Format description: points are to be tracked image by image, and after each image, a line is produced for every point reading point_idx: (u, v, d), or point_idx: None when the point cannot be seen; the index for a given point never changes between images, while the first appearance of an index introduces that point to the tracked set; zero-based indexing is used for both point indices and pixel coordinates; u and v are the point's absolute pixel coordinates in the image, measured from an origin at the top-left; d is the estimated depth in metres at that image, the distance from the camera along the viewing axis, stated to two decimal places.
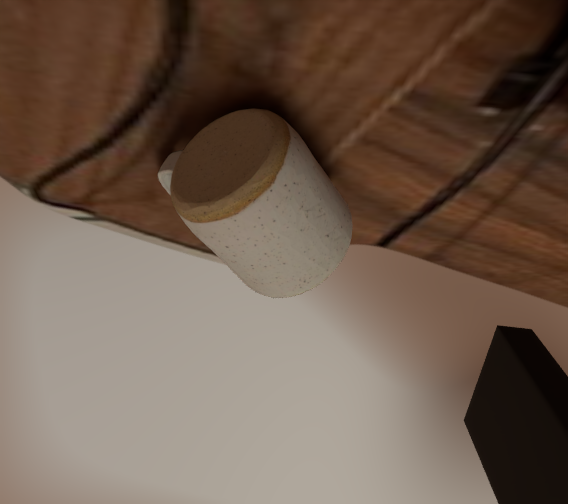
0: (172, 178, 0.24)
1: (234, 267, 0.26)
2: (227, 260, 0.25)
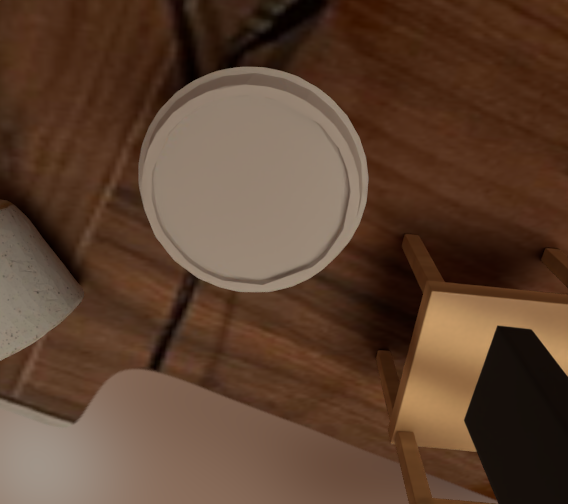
0: None
1: None
2: None
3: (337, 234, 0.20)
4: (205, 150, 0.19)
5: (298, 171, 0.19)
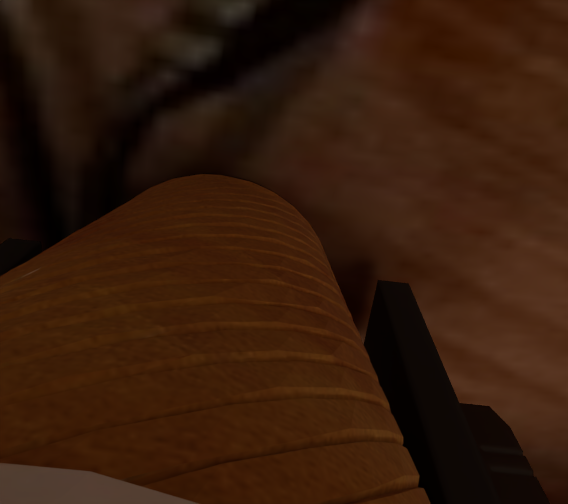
0: None
1: None
2: None
3: None
4: None
5: None
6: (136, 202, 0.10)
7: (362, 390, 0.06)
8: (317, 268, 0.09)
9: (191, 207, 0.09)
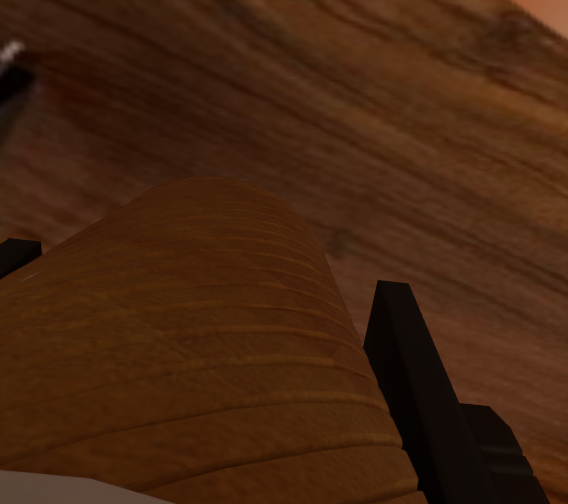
0: None
1: None
2: None
3: None
4: None
5: None
6: (136, 204, 0.10)
7: (361, 393, 0.06)
8: (316, 270, 0.09)
9: (191, 210, 0.09)
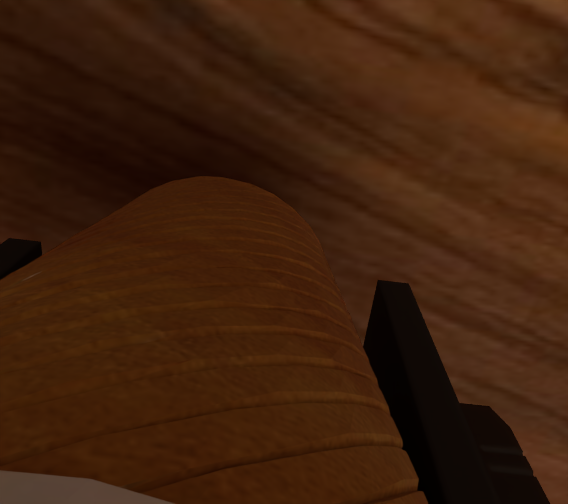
0: None
1: None
2: None
3: None
4: None
5: None
6: (136, 204, 0.10)
7: (361, 394, 0.06)
8: (317, 271, 0.09)
9: (191, 210, 0.09)
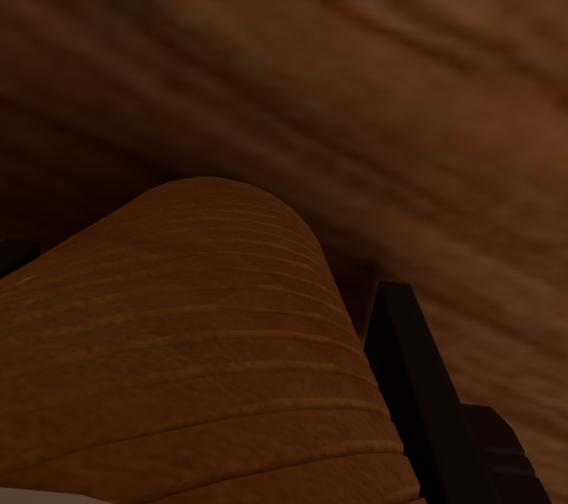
0: None
1: None
2: None
3: None
4: None
5: None
6: (134, 205, 0.10)
7: (362, 398, 0.06)
8: (316, 272, 0.09)
9: (189, 211, 0.09)
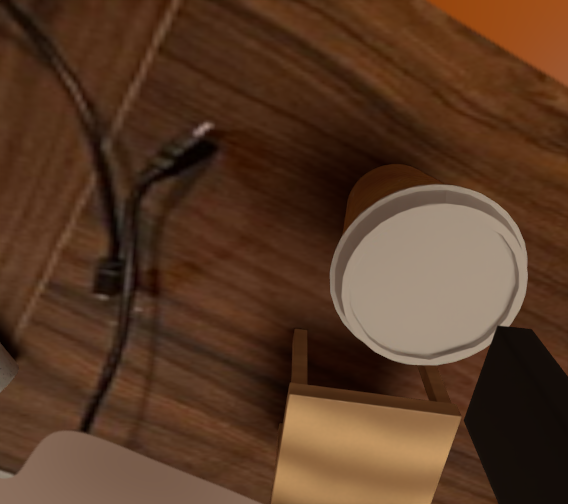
0: None
1: None
2: None
3: (499, 320, 0.24)
4: (399, 250, 0.23)
5: (474, 270, 0.23)
6: (388, 170, 0.30)
7: None
8: None
9: (412, 171, 0.29)
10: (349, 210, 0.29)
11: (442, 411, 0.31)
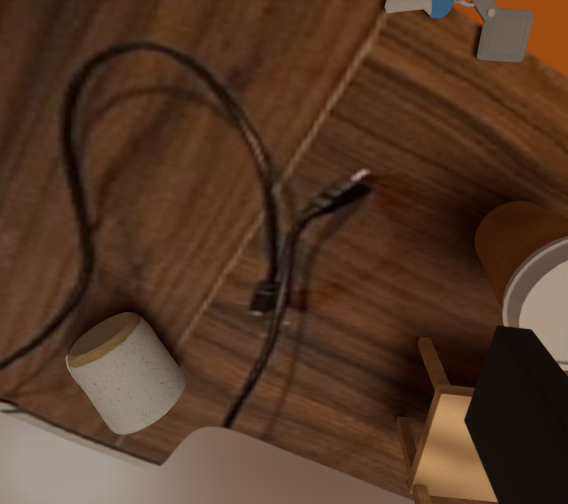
0: None
1: (100, 406, 0.40)
2: (96, 399, 0.40)
3: None
4: (567, 284, 0.29)
5: None
6: (522, 209, 0.37)
7: None
8: None
9: (545, 210, 0.36)
10: (495, 244, 0.36)
11: None
